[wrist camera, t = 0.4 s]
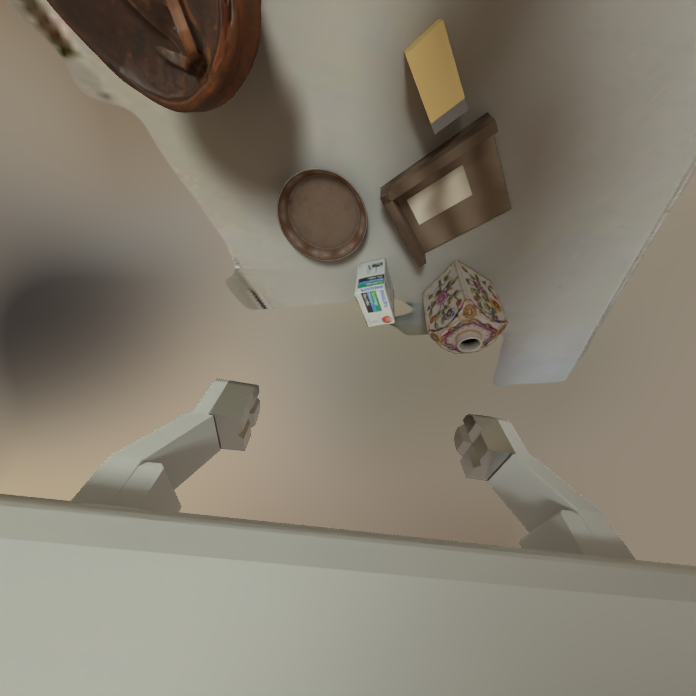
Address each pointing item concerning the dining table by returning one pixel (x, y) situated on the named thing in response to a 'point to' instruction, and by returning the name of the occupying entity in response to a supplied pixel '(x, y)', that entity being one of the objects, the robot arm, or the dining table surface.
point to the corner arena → (448, 190)
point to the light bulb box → (375, 293)
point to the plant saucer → (322, 214)
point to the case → (171, 45)
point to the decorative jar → (463, 310)
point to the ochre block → (437, 76)
